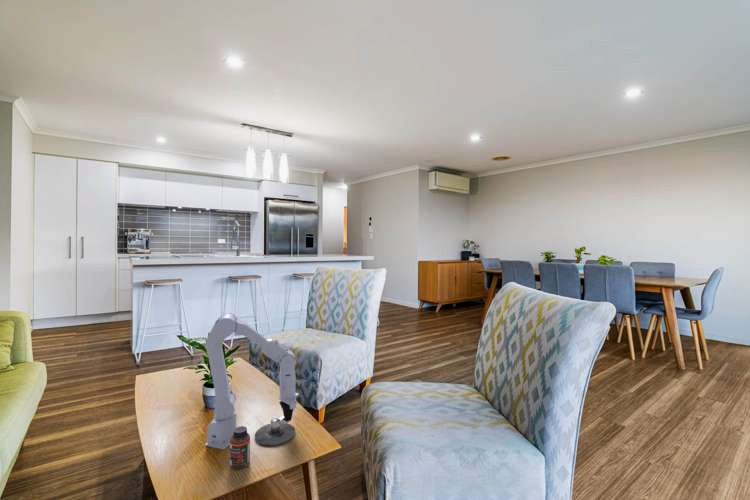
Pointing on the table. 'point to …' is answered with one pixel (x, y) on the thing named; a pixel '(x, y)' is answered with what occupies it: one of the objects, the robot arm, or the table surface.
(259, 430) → the plate
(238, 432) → the supplement bottle
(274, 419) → the crank
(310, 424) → the table surface
